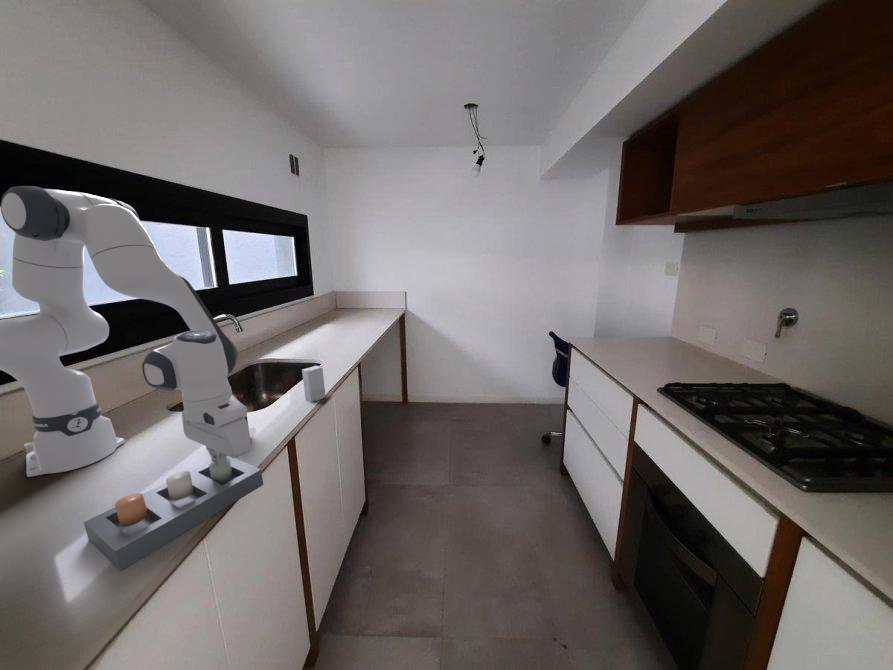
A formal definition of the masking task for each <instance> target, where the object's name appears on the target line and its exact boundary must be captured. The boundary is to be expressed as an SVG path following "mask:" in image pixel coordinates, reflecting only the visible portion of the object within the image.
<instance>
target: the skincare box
mask: <svg viewBox="0 0 893 670" xmlns="http://www.w3.org/2000/svg"><path fill="white" fill-rule="evenodd" d="M323 370H324V369H323V367H322V366H320V365H313V366H311V367H306V368H303V369H301V373H302V374H301V375H302V382H303V389H304V397H305V401H307V402H309V403H314V402H317V401H319V400H322V399H324V398H326V397H327V396H326V387H325V378H324V371H323Z"/></svg>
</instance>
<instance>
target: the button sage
mask: <svg viewBox="0 0 893 670" xmlns="http://www.w3.org/2000/svg"><path fill="white" fill-rule="evenodd" d="M209 469H210V474H211V479H212V480H213V481H215V482H217V483H219V484H223V483H225V482H228V481H229V480H231V479H232V477H233V475H232V469H231V463H230V459H228V458H227V463H226V464H224V465H222V466H219V465H217V464H215V463H213V462H212V463H211V464H210V465H209Z"/></svg>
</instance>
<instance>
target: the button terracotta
mask: <svg viewBox="0 0 893 670" xmlns="http://www.w3.org/2000/svg"><path fill="white" fill-rule="evenodd" d="M143 494H144V493H140V492H136V493H132V494H128V495H127V496H124V497H122V498H120V499H119V500H117V501H116V502H115V504H114V507H115V508H116V512H117V516H118V520H119V524H120V526H122V527H127V526H131V525H134V524H137V523H139V522H140V521H142V520H143V519H145V518H146V517H147V515H148V512H147V508H146V504H145V500H144V496H143Z"/></svg>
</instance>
